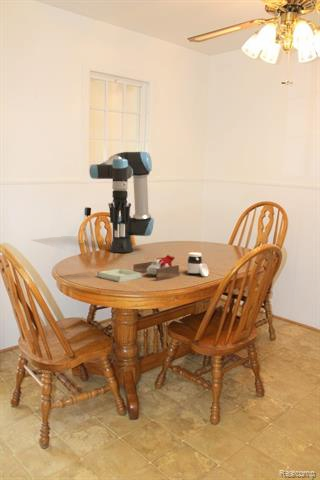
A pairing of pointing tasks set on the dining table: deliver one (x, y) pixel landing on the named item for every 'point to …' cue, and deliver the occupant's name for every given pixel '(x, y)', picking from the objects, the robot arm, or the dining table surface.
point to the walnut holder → (158, 271)
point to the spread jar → (196, 265)
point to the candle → (160, 264)
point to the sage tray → (119, 275)
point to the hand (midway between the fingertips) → (119, 236)
